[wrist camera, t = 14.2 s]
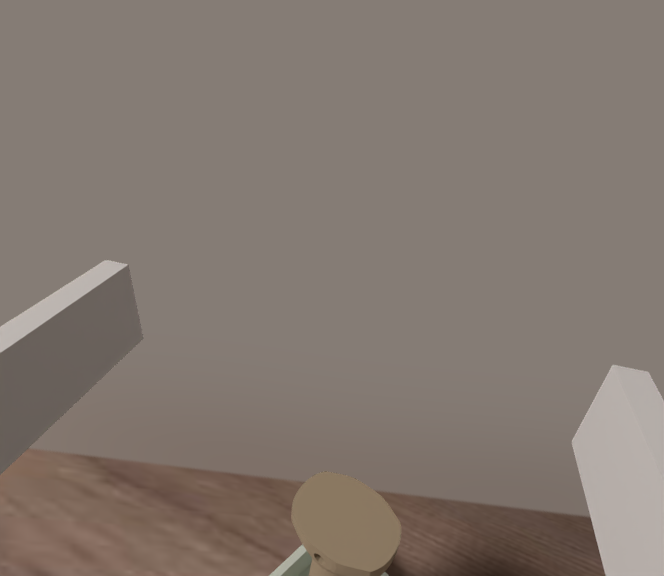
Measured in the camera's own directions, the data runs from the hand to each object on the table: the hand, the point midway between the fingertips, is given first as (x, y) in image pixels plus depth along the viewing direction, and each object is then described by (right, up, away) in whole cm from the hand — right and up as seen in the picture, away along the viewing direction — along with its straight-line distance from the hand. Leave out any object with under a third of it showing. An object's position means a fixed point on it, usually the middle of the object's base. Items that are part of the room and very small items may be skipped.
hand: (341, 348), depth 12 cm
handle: (0, -24, +21) cm, 32 cm away
